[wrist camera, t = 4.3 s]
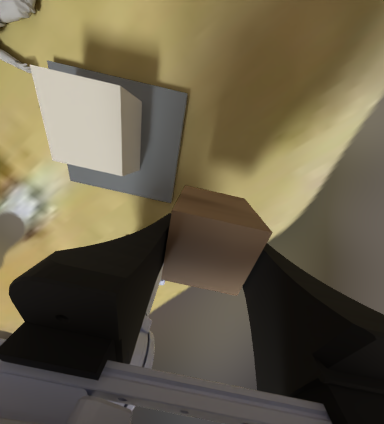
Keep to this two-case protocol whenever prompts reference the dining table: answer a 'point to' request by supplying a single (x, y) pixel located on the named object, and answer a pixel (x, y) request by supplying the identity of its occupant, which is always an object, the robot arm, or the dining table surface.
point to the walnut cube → (213, 241)
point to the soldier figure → (9, 12)
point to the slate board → (142, 139)
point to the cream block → (89, 121)
